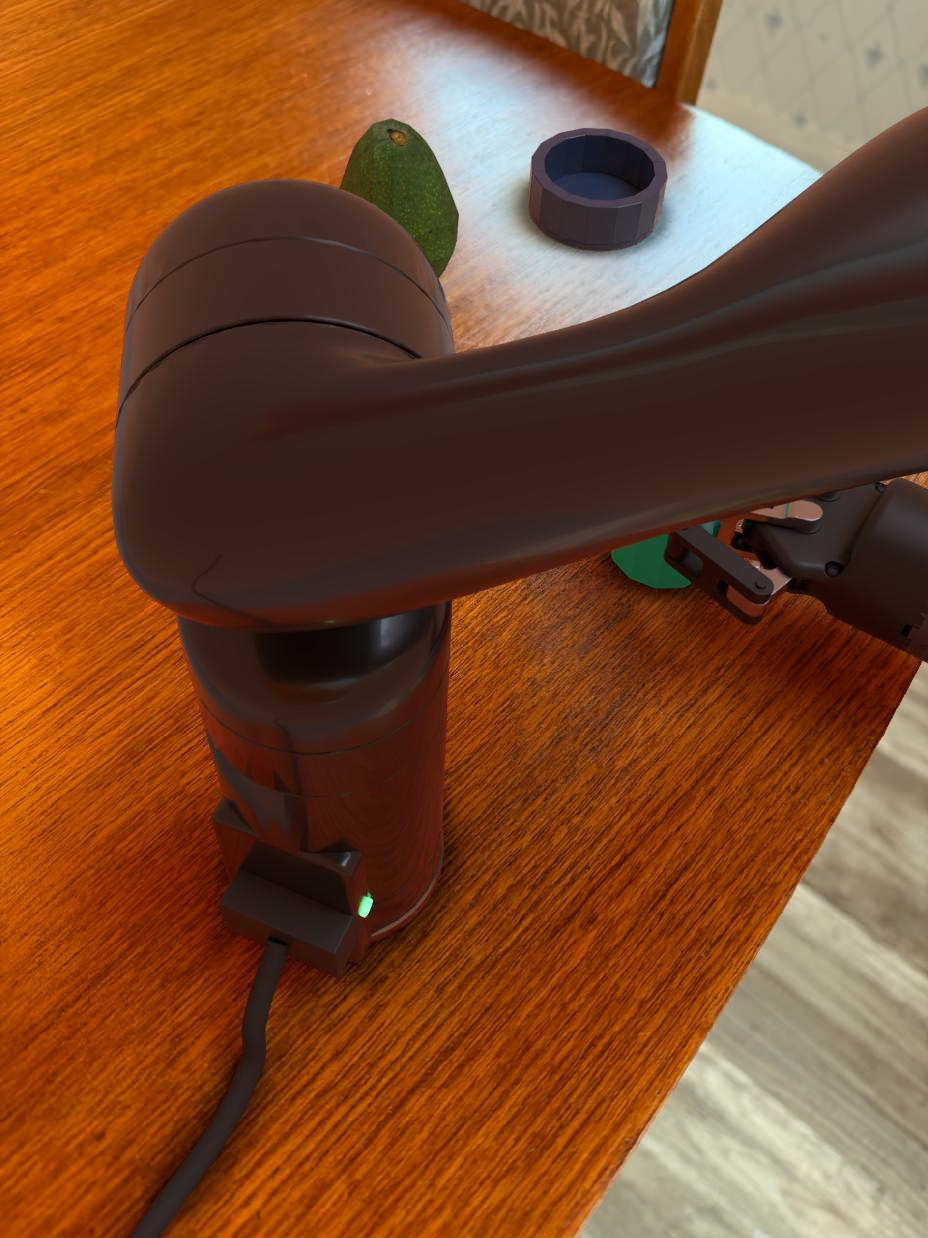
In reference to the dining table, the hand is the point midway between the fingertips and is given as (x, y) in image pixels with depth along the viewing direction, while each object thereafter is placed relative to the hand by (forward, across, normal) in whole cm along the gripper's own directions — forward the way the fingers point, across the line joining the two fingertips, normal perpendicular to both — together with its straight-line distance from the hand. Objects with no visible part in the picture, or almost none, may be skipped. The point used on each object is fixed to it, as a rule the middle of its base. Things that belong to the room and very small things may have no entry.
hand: (638, 440), depth 63 cm
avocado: (+22, -10, +7) cm, 26 cm away
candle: (-3, 0, +7) cm, 8 cm away
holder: (+16, -25, +7) cm, 31 cm away
